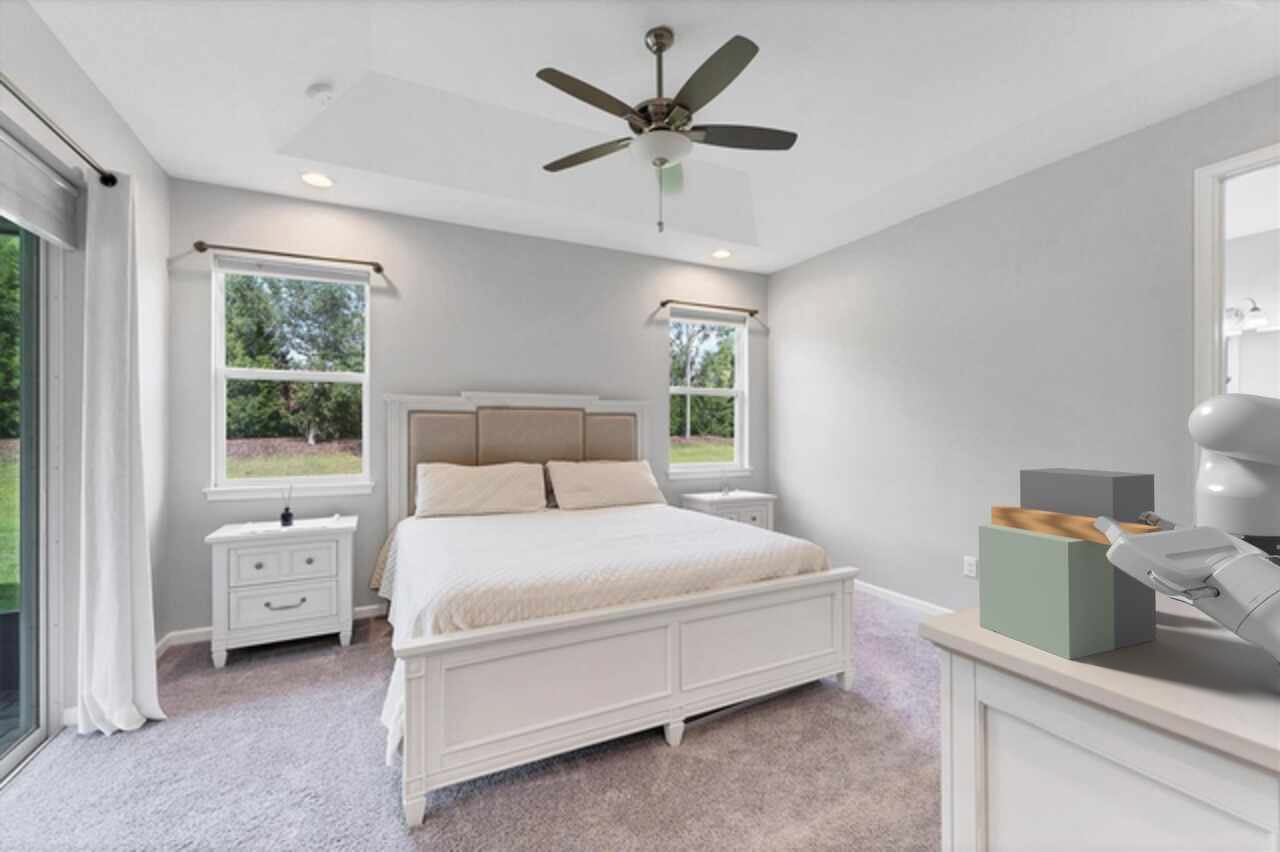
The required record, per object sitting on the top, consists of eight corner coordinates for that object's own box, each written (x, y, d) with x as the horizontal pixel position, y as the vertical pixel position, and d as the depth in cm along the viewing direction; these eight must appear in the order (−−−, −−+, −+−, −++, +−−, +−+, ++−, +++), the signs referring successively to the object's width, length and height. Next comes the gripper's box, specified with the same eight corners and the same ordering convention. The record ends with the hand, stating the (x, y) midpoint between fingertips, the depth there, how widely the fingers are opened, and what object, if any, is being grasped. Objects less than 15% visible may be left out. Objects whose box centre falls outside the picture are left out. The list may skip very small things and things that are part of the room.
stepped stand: (1156, 639, 85) (1154, 474, 85) (1069, 659, 78) (1067, 480, 78) (1060, 611, 98) (1059, 467, 98) (979, 626, 91) (977, 472, 91)
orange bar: (1162, 549, 73) (1161, 527, 73) (1148, 551, 72) (1147, 529, 72) (1003, 522, 94) (1003, 505, 94) (991, 523, 93) (991, 506, 93)
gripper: (1169, 620, 63) (1059, 540, 74) (1267, 599, 69) (1152, 529, 81) (1204, 581, 60) (1084, 504, 71) (1303, 562, 66) (1179, 495, 78)
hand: (1121, 517), depth 76 cm, fingers open, 8 cm apart
